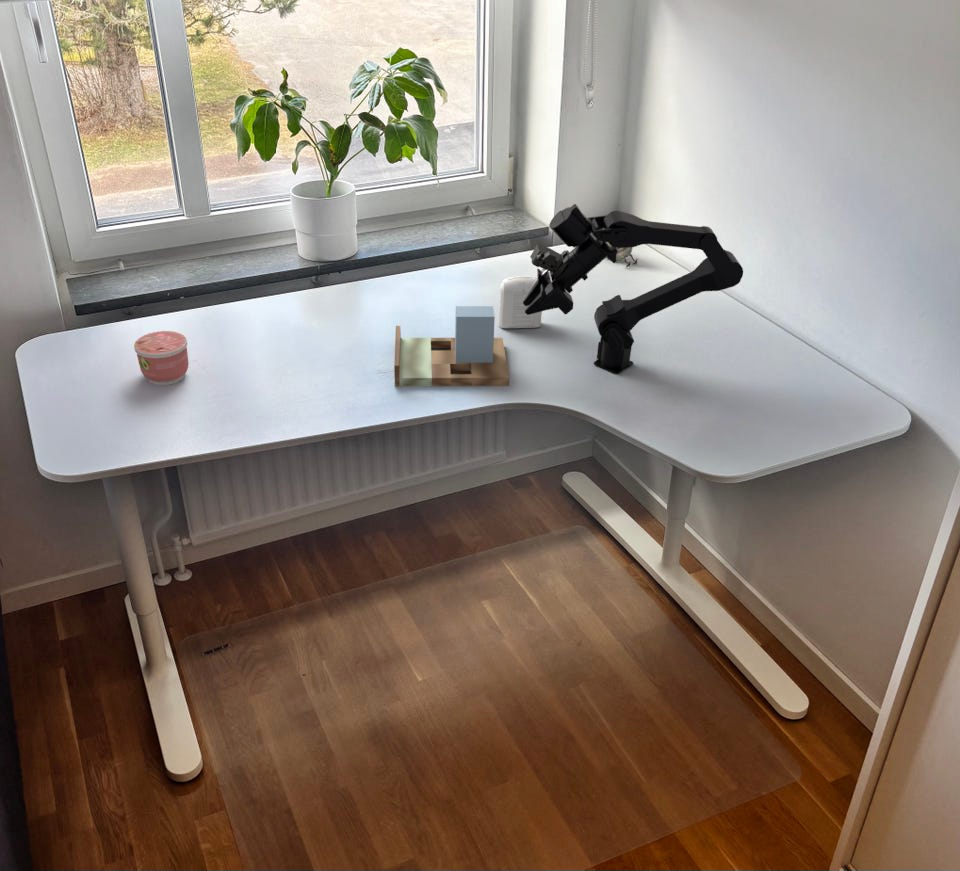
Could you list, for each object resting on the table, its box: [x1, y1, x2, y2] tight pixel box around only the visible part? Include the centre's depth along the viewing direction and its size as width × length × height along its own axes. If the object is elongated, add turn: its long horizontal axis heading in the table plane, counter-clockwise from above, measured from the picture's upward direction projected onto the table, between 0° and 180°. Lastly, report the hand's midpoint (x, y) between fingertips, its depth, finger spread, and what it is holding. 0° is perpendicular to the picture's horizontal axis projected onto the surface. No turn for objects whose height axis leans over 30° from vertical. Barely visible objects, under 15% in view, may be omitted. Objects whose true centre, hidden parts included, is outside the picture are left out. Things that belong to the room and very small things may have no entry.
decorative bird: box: [606, 242, 638, 269], centre depth 258 cm, size 5×16×8 cm, turn 41°
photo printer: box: [497, 275, 543, 329], centre depth 222 cm, size 10×4×12 cm, turn 98°
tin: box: [454, 305, 496, 363], centre depth 204 cm, size 8×5×11 cm, turn 93°
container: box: [133, 330, 190, 386], centre depth 199 cm, size 10×10×8 cm
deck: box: [393, 325, 510, 387], centre depth 207 cm, size 24×18×5 cm
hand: (525, 308), depth 202 cm, fingers open, 4 cm apart
